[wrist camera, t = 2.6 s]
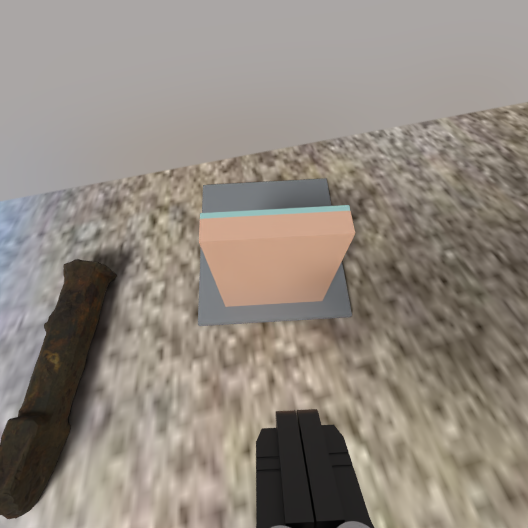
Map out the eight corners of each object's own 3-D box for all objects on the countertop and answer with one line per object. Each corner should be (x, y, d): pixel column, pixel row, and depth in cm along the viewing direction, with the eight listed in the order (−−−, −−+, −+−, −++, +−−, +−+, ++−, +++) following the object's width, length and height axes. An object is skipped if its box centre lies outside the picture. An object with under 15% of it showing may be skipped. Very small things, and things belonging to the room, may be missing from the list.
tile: (319, 281, 29) (349, 205, 18) (322, 301, 28) (355, 233, 18) (225, 286, 29) (200, 213, 18) (225, 306, 28) (199, 242, 17)
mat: (325, 182, 35) (326, 178, 35) (350, 317, 28) (352, 315, 28) (204, 188, 35) (203, 185, 35) (199, 326, 28) (197, 324, 28)
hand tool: (83, 273, 31) (54, 251, 27) (122, 275, 31) (98, 254, 27) (-1, 504, 23) (-62, 525, 19) (50, 510, 23) (0, 533, 18)
